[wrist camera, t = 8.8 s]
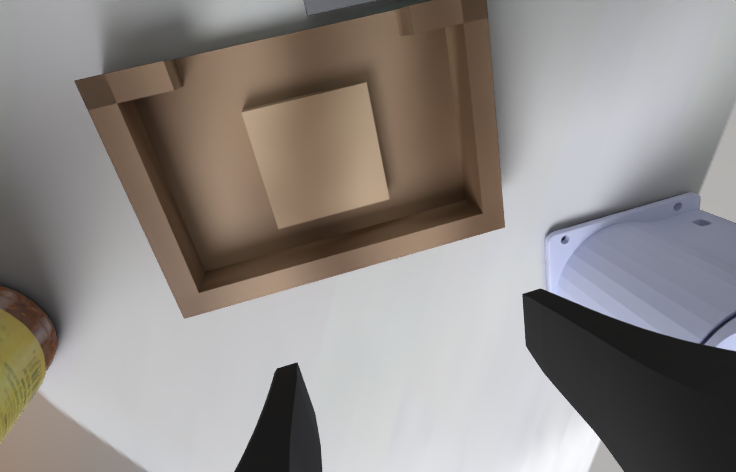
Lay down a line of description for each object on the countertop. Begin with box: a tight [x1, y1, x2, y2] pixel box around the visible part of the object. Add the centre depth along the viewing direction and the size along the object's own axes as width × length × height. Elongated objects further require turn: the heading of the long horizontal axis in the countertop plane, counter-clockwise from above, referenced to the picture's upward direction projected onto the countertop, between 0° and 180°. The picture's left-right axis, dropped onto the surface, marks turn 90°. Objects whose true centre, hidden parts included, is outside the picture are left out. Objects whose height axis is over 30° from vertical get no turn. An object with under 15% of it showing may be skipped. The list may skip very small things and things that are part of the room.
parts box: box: [75, 0, 505, 319], centre depth 19 cm, size 15×10×3 cm, turn 102°
